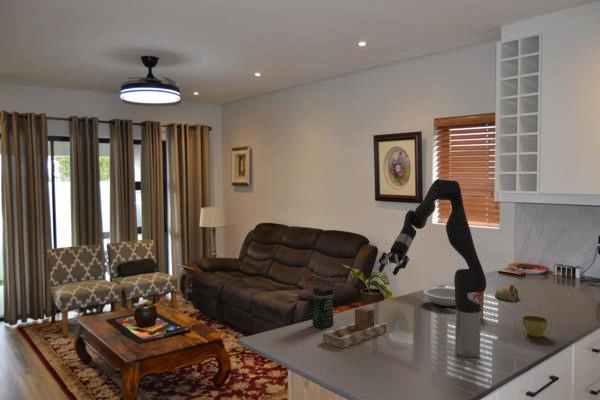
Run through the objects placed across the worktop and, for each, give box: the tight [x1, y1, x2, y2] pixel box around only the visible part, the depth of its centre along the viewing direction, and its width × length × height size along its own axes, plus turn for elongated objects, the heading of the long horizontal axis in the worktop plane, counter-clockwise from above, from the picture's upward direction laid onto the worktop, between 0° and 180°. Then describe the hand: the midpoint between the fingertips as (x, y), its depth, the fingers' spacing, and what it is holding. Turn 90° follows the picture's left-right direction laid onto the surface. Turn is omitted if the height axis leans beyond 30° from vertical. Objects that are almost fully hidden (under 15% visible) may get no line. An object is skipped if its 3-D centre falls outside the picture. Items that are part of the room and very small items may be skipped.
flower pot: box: [521, 315, 549, 338], centre depth 205 cm, size 10×10×7 cm
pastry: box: [494, 284, 520, 302], centre depth 267 cm, size 14×12×8 cm
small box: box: [468, 291, 485, 318], centre depth 232 cm, size 8×6×13 cm
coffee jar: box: [312, 284, 335, 329], centre depth 219 cm, size 10×8×19 cm
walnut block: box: [354, 306, 375, 332], centre depth 208 cm, size 6×6×10 cm
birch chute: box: [322, 322, 387, 349], centre depth 204 cm, size 30×10×4 cm, turn 133°
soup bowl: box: [423, 287, 456, 307], centre depth 254 cm, size 24×24×7 cm
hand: (386, 272), depth 218 cm, fingers open, 7 cm apart
